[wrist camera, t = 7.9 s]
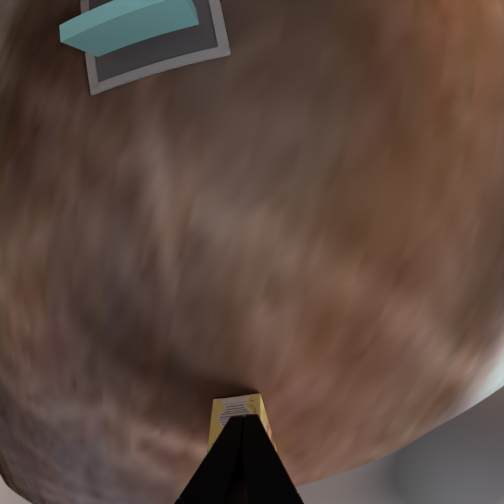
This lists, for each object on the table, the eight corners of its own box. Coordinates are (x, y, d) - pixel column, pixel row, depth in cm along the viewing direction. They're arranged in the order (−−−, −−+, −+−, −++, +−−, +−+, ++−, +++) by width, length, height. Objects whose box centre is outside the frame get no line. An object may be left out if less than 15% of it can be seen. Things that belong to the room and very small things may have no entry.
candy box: (210, 396, 24) (188, 576, 10) (262, 390, 24) (268, 577, 10) (237, 454, 27) (232, 593, 13) (280, 449, 27) (289, 591, 13)
